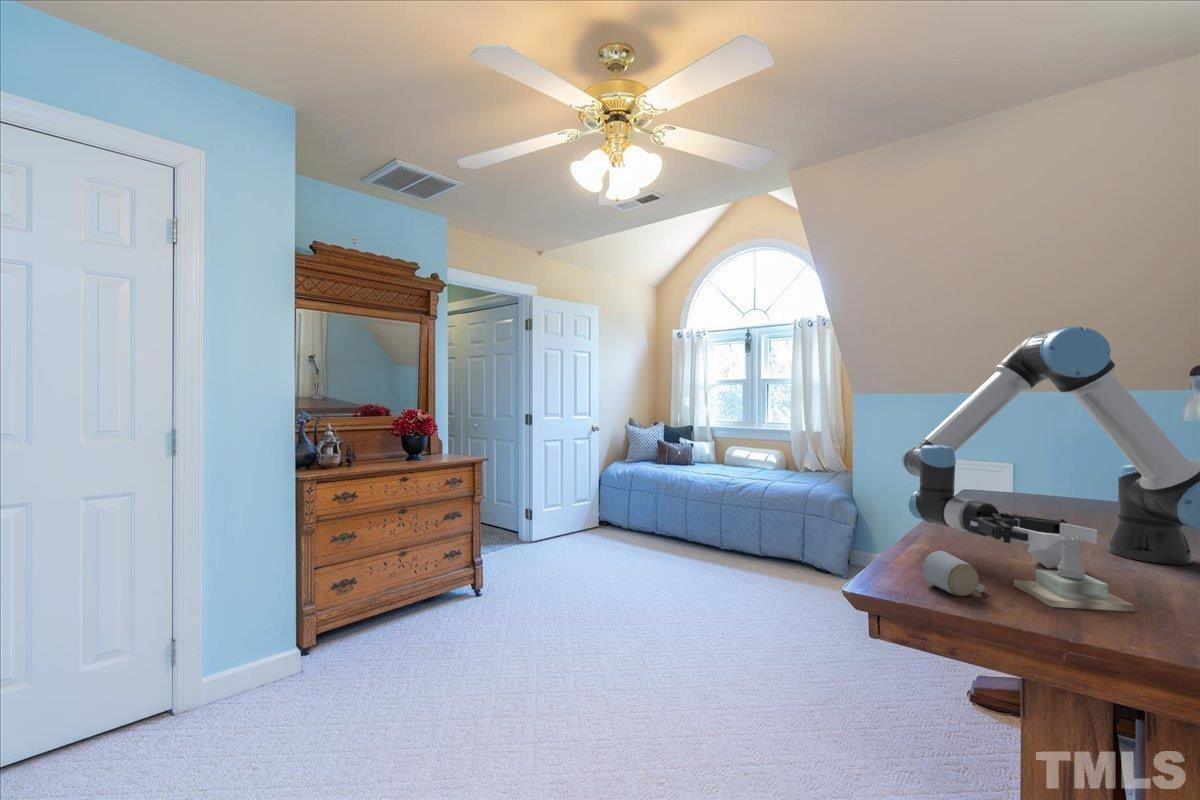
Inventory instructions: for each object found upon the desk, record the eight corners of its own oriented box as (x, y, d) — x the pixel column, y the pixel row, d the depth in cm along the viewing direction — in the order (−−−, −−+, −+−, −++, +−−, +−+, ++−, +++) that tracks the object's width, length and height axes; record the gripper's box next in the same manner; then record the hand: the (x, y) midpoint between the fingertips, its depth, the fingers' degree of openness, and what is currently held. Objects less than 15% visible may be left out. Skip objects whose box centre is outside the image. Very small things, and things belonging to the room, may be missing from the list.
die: (1081, 576, 128) (1086, 538, 131) (1047, 557, 128) (1054, 520, 131) (1047, 578, 135) (1053, 542, 139) (1016, 560, 135) (1023, 525, 139)
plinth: (1087, 589, 117) (1088, 569, 117) (1133, 611, 105) (1134, 589, 105) (1014, 585, 119) (1014, 565, 119) (1051, 606, 107) (1051, 584, 107)
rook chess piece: (1061, 578, 111) (1061, 537, 111) (1052, 571, 115) (1053, 532, 115) (1089, 581, 109) (1090, 540, 109) (1080, 574, 113) (1080, 534, 113)
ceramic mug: (949, 599, 111) (950, 561, 111) (921, 585, 119) (922, 550, 119) (995, 597, 112) (996, 560, 112) (964, 584, 120) (966, 549, 120)
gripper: (1011, 529, 136) (1114, 553, 115) (930, 536, 128) (1025, 562, 108) (1012, 498, 136) (1115, 516, 115) (930, 503, 128) (1026, 523, 108)
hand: (1072, 539), depth 112 cm, fingers open, 13 cm apart
